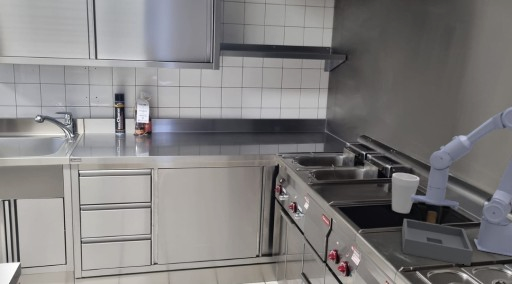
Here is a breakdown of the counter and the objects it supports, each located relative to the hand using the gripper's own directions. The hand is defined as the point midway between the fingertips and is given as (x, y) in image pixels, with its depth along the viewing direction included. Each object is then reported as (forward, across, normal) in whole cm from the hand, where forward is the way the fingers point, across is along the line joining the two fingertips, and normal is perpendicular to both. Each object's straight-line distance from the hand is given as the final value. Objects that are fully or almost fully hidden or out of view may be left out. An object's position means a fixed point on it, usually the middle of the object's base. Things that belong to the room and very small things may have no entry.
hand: (430, 225), depth 150 cm
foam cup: (+2, +9, -15) cm, 18 cm away
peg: (+1, 0, 0) cm, 1 cm away
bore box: (+1, 0, +15) cm, 15 cm away
